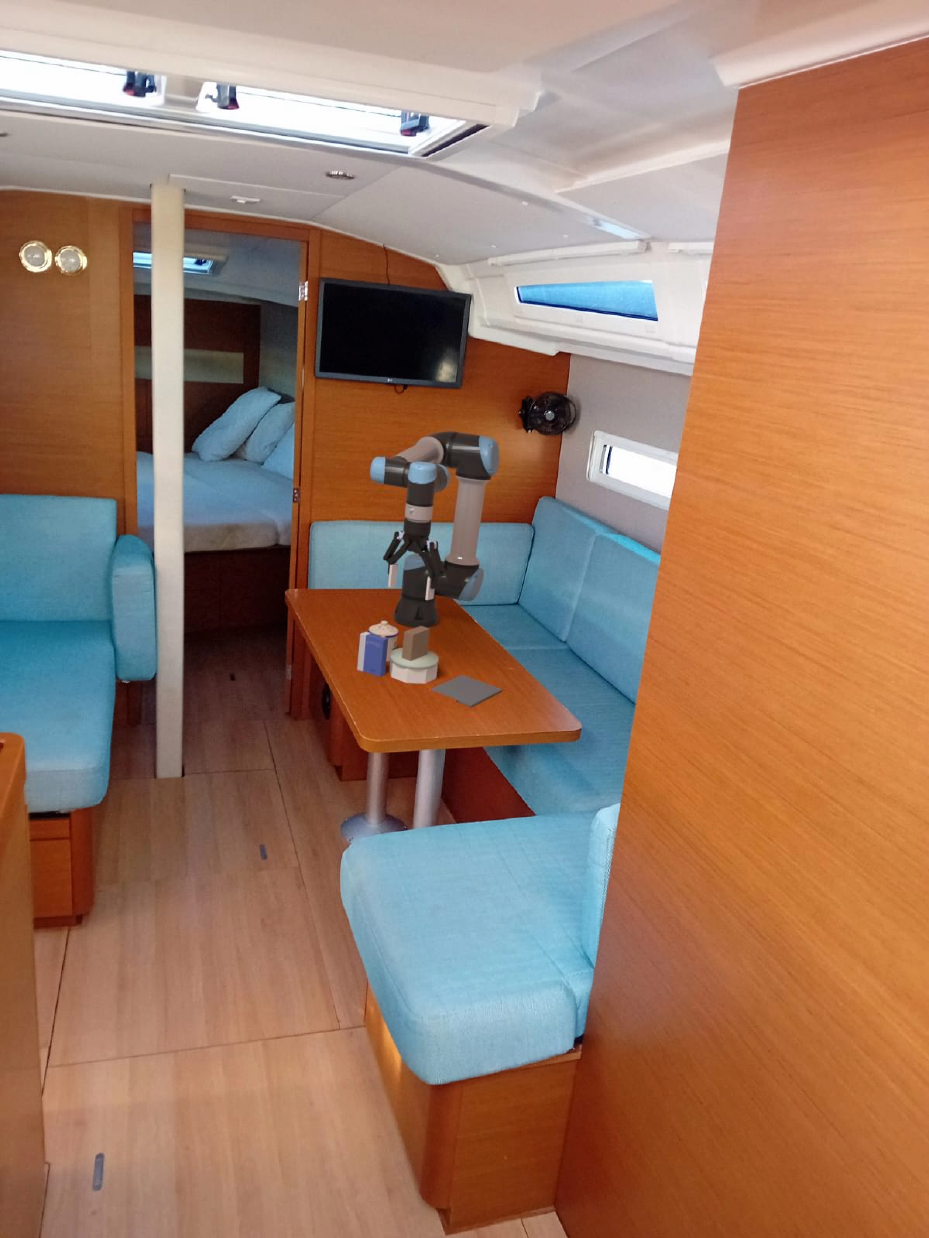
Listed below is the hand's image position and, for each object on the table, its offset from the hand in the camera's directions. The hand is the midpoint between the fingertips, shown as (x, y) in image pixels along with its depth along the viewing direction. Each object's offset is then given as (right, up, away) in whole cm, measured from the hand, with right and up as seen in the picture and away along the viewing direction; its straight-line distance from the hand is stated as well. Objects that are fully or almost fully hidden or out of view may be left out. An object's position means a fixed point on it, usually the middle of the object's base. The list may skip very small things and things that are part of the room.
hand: (410, 592), depth 263 cm
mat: (+16, -28, +2) cm, 32 cm away
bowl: (0, -24, +8) cm, 25 cm away
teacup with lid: (-10, -19, +20) cm, 29 cm away
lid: (+1, -19, +6) cm, 20 cm away
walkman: (-12, -23, +6) cm, 27 cm away
